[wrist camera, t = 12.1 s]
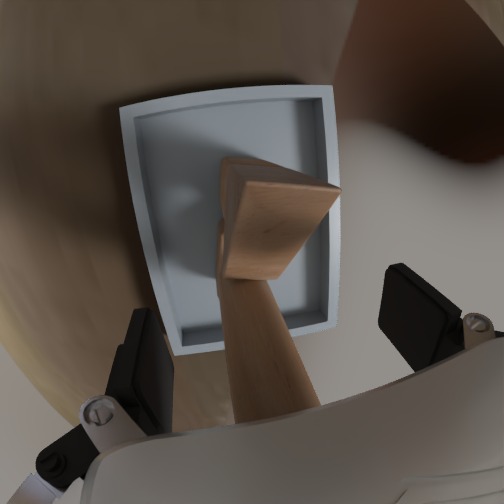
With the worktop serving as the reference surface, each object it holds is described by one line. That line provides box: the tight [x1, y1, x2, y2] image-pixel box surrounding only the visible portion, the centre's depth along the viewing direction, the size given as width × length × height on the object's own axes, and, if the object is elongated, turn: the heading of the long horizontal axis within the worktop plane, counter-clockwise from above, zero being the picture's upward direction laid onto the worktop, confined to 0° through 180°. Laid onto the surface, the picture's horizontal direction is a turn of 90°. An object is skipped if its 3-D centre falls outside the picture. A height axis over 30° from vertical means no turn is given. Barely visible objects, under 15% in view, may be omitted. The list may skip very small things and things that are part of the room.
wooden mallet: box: [216, 157, 342, 424], centre depth 16 cm, size 4×11×18 cm, turn 176°
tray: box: [119, 85, 340, 356], centre depth 24 cm, size 22×16×3 cm
